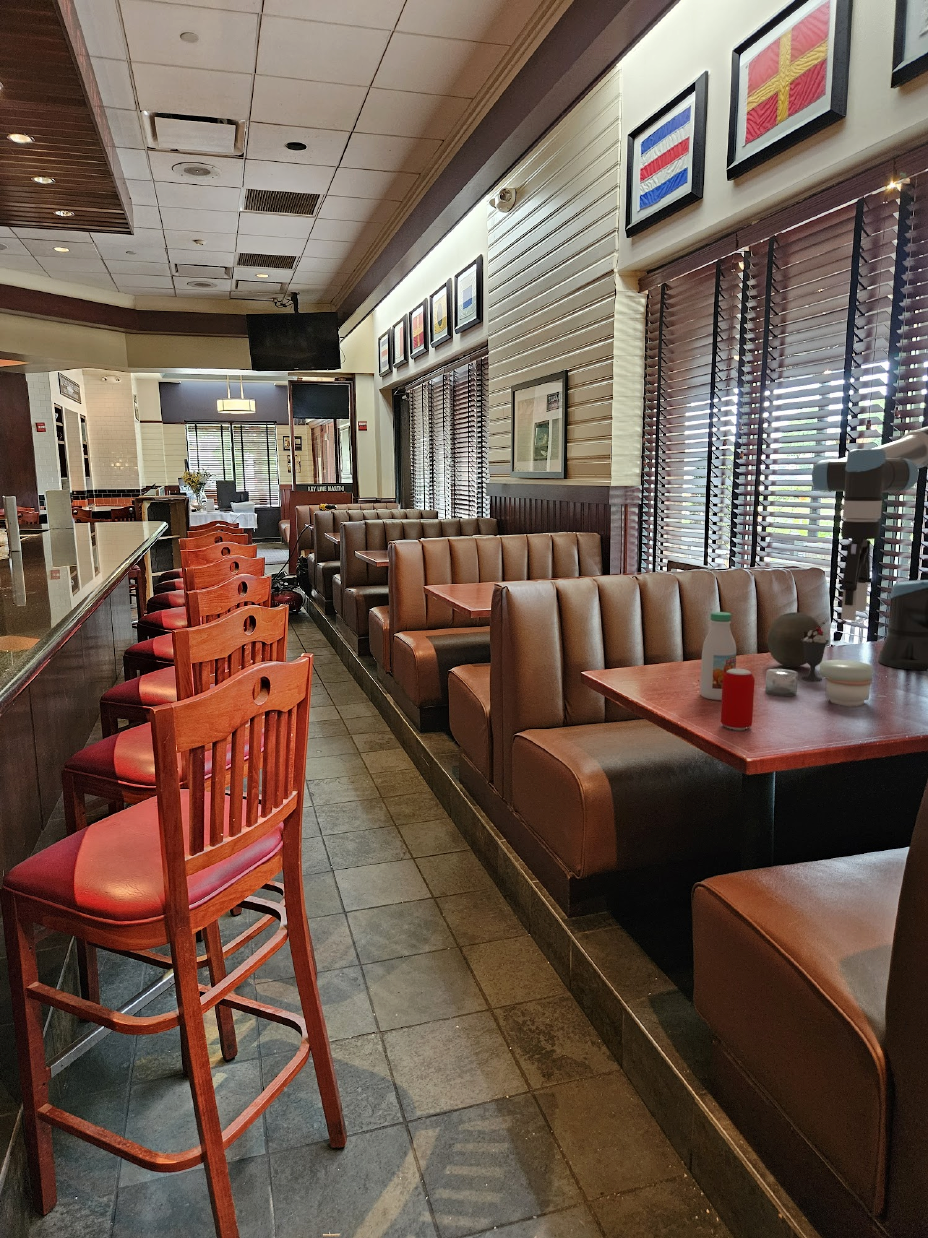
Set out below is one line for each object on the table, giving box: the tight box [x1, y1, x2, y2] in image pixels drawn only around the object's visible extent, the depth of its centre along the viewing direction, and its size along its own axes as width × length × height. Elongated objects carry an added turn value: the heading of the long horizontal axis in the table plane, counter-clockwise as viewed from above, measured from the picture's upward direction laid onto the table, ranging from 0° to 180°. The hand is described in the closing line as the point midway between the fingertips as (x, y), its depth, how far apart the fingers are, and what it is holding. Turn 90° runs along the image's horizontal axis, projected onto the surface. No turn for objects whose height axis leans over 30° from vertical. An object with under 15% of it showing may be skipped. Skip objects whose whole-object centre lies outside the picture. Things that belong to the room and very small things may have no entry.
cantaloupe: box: [766, 612, 821, 668], centre depth 216 cm, size 14×14×15 cm
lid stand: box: [764, 668, 799, 697], centre depth 192 cm, size 7×7×5 cm
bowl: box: [824, 677, 873, 707], centre depth 184 cm, size 10×10×6 cm
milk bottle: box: [699, 611, 737, 701], centre depth 188 cm, size 8×8×20 cm
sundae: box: [800, 622, 830, 682], centre depth 204 cm, size 7×7×15 cm
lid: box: [818, 659, 874, 682], centre depth 184 cm, size 11×11×2 cm
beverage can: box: [720, 668, 756, 731], centre depth 165 cm, size 6×6×12 cm
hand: (853, 615), depth 181 cm, fingers open, 13 cm apart
